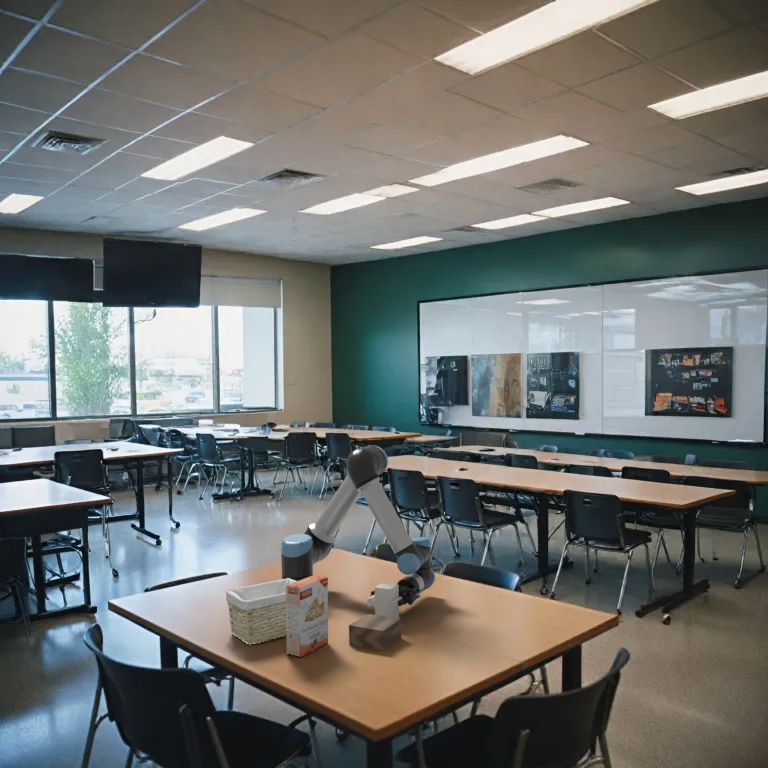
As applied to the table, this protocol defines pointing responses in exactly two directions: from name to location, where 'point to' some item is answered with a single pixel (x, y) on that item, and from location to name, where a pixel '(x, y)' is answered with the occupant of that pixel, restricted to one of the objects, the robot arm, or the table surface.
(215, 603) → the table surface
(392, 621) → the walnut block
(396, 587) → the white block
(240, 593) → the storage basket
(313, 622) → the cracker box
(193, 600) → the table surface
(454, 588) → the table surface
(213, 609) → the table surface
